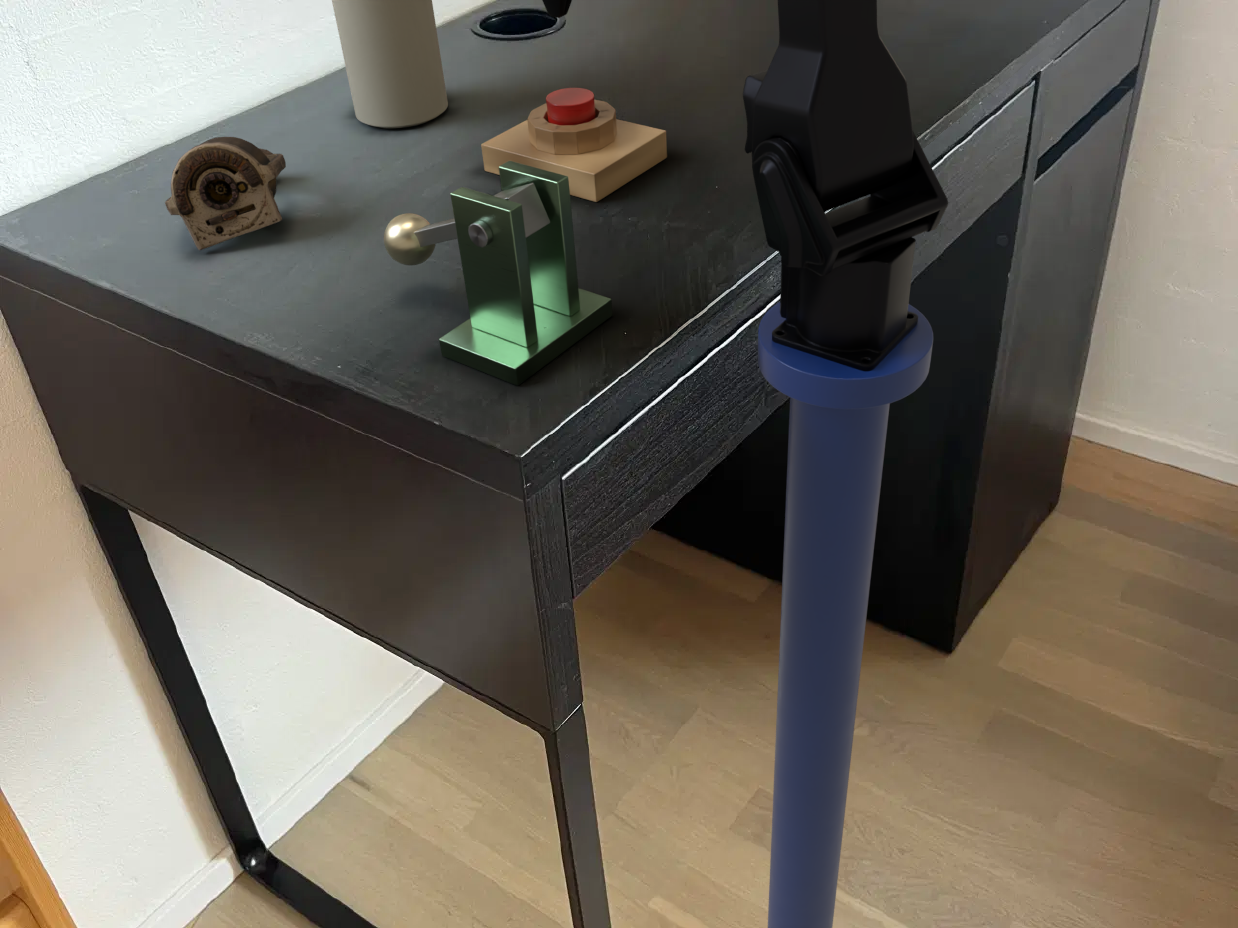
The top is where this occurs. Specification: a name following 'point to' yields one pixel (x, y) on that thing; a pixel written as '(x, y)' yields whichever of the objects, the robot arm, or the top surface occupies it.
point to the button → (570, 106)
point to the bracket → (519, 280)
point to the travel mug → (392, 60)
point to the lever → (452, 227)
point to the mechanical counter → (225, 190)
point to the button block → (580, 150)
